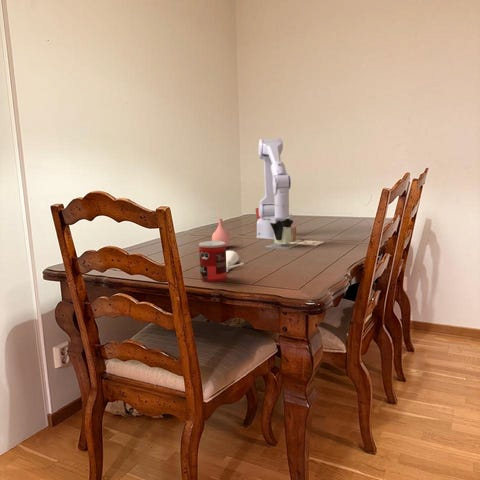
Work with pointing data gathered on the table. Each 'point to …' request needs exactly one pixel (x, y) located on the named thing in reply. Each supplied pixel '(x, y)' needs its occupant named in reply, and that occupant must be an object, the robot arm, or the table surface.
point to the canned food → (212, 261)
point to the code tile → (310, 242)
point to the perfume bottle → (221, 234)
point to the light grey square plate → (282, 246)
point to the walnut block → (293, 234)
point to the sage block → (284, 236)
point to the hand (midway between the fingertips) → (281, 238)
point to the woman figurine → (231, 259)
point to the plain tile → (296, 241)
